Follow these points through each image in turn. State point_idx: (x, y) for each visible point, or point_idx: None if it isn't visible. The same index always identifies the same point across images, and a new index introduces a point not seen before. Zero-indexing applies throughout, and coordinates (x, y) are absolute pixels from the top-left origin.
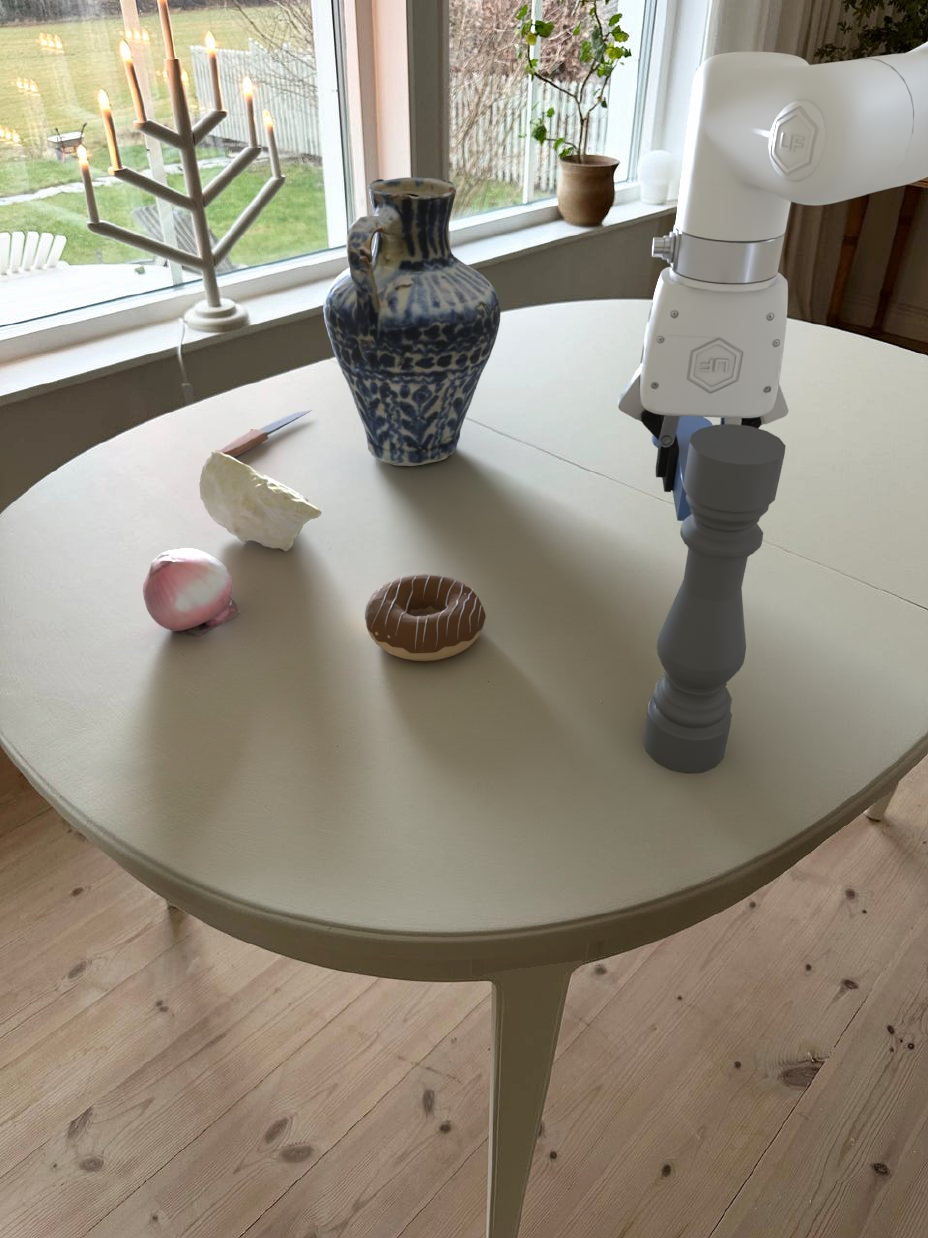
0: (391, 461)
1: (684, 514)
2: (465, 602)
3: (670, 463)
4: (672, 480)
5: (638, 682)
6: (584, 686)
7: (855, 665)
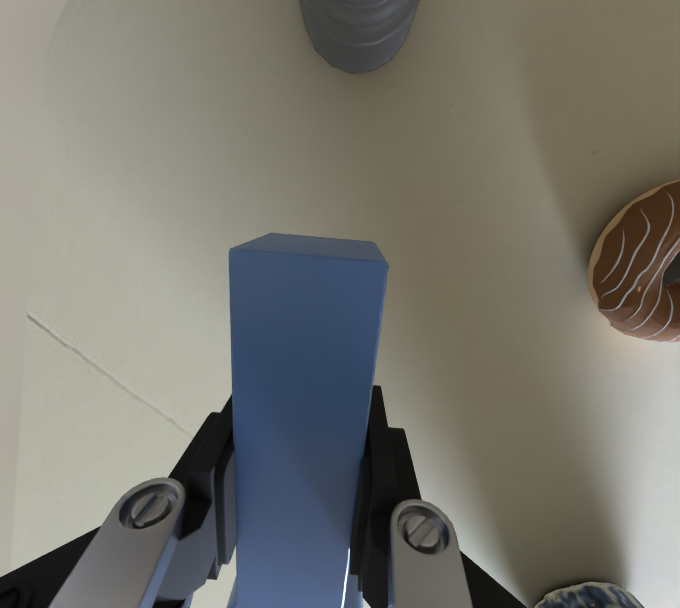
0: (620, 589)
1: (359, 242)
2: (649, 262)
3: (385, 441)
4: None
5: (394, 152)
6: (468, 142)
7: (112, 192)
